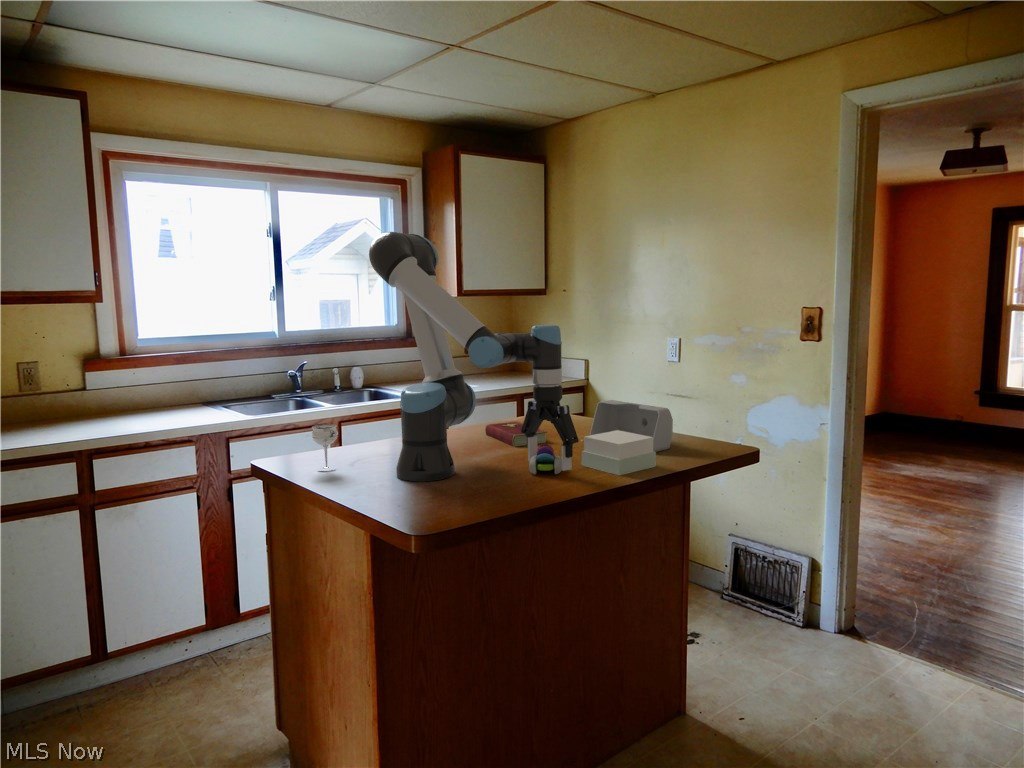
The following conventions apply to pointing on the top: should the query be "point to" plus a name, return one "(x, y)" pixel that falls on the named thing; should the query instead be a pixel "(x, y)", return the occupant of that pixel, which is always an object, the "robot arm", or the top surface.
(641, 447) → the grey square box
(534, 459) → the chunky wheeled toy
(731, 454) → the top surface
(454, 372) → the robot arm
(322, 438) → the wineglass
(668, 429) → the light grey storage bin
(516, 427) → the hardcover book
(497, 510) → the top surface
